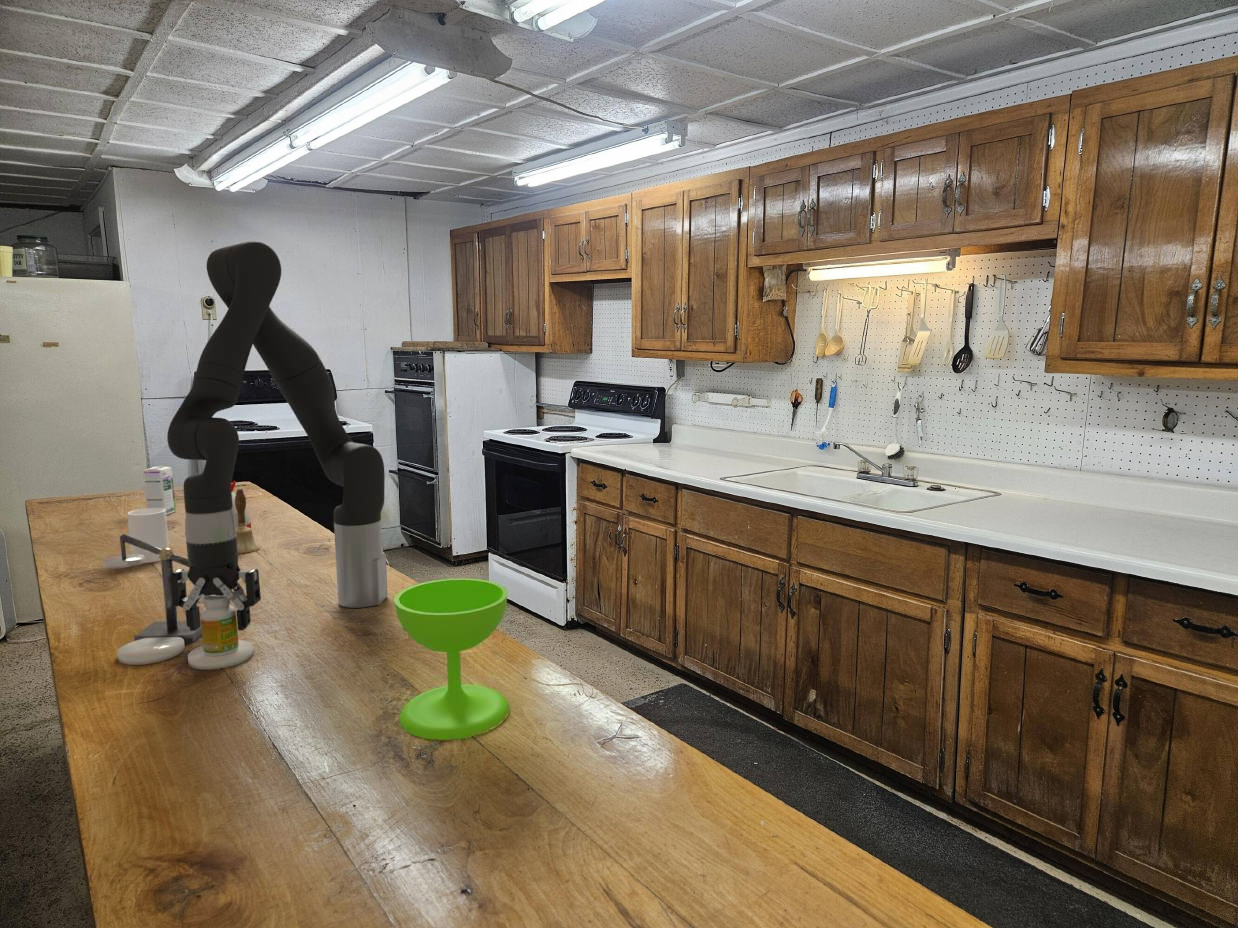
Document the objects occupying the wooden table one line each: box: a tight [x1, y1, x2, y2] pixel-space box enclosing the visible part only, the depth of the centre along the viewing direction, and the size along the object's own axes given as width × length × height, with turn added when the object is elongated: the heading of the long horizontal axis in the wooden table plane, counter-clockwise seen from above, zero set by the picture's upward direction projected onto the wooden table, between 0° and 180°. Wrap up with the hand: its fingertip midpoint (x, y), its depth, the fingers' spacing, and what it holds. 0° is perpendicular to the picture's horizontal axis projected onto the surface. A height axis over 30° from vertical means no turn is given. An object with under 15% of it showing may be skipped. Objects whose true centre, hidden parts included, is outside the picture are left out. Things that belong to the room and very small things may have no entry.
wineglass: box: [393, 577, 511, 741], centre depth 113 cm, size 16×16×18 cm
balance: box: [102, 533, 206, 644], centre depth 142 cm, size 21×7×19 cm, turn 95°
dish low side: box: [187, 639, 254, 671], centre depth 134 cm, size 10×10×1 cm
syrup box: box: [142, 465, 177, 516], centre depth 240 cm, size 6×6×14 cm
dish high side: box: [117, 636, 186, 666], centre depth 136 cm, size 10×10×1 cm
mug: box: [127, 507, 170, 564], centre depth 194 cm, size 12×8×12 cm
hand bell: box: [235, 488, 262, 555], centre depth 200 cm, size 8×8×16 cm
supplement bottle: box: [200, 595, 239, 656], centre depth 133 cm, size 5×5×10 cm
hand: (219, 628), depth 133 cm, fingers open, 7 cm apart
